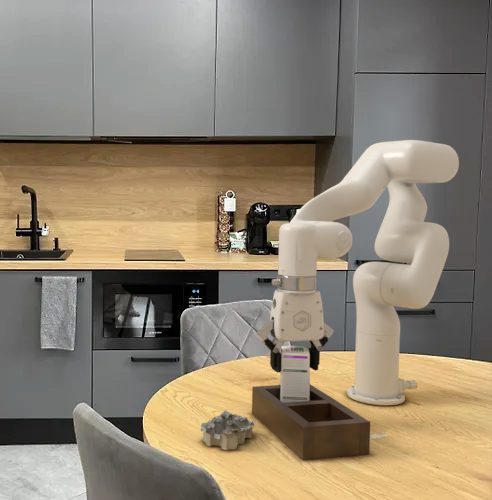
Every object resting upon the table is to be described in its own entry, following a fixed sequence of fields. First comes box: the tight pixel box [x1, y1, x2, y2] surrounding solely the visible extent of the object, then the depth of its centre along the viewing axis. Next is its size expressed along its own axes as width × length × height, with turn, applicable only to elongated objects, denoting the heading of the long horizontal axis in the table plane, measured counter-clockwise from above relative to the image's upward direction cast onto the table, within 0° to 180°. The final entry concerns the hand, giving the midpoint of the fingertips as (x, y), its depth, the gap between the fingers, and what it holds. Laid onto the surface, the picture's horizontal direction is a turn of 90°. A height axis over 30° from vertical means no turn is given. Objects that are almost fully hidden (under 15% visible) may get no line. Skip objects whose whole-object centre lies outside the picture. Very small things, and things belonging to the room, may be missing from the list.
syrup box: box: [279, 345, 311, 403], centre depth 127 cm, size 6×6×14 cm
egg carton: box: [200, 410, 256, 451], centre depth 118 cm, size 11×8×4 cm
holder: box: [251, 383, 371, 461], centre depth 122 cm, size 13×24×6 cm, turn 12°
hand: (294, 369), depth 126 cm, fingers closed on syrup box, 7 cm apart
